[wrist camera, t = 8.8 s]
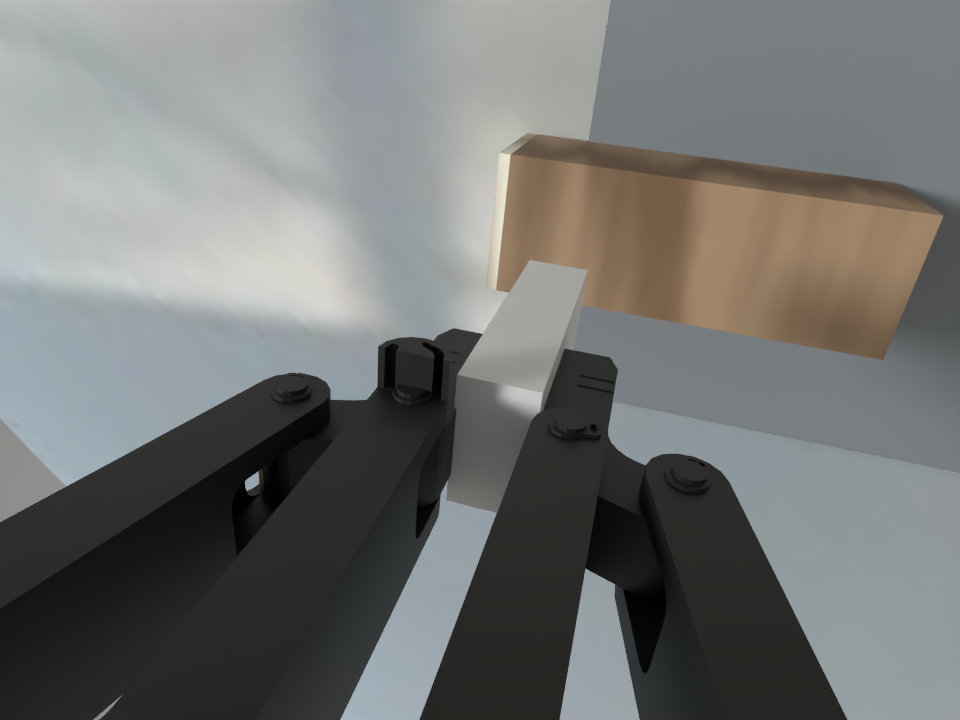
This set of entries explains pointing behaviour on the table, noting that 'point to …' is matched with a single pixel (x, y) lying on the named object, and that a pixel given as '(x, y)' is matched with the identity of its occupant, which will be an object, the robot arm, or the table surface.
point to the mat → (810, 147)
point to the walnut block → (714, 240)
